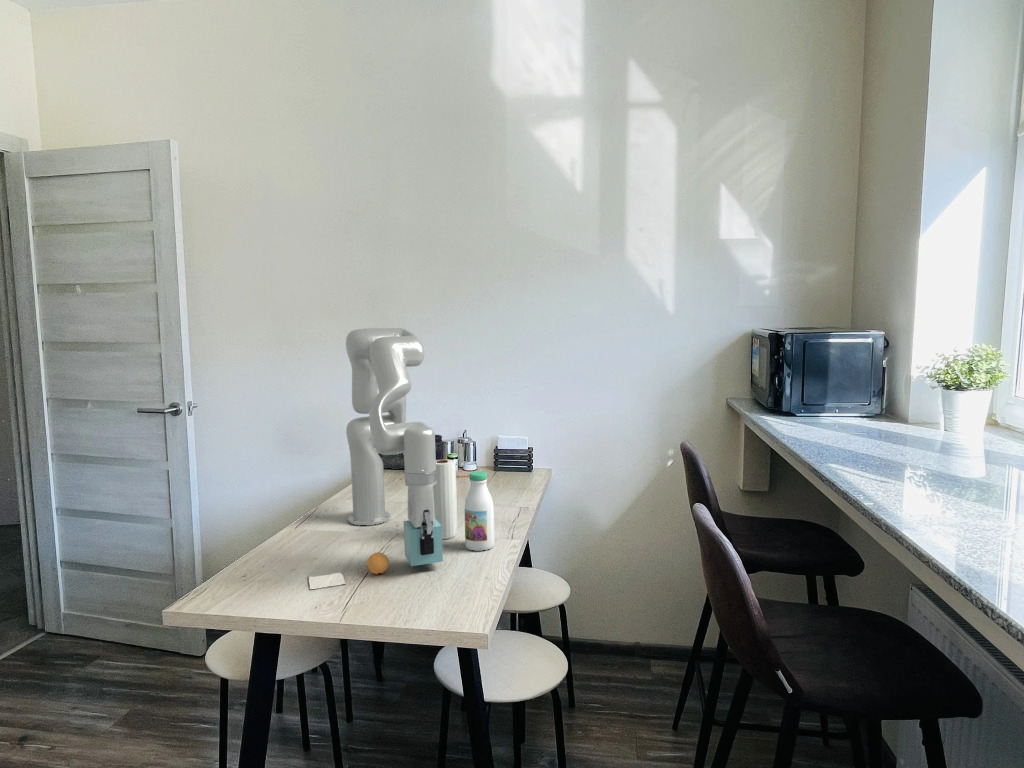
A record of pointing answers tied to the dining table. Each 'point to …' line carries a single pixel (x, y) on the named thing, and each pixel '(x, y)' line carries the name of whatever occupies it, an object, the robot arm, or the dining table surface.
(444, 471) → the paper towel roll
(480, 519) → the milk bottle
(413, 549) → the light teal cube-like block
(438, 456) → the storage jar
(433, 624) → the dining table surface
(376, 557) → the ball
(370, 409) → the robot arm
